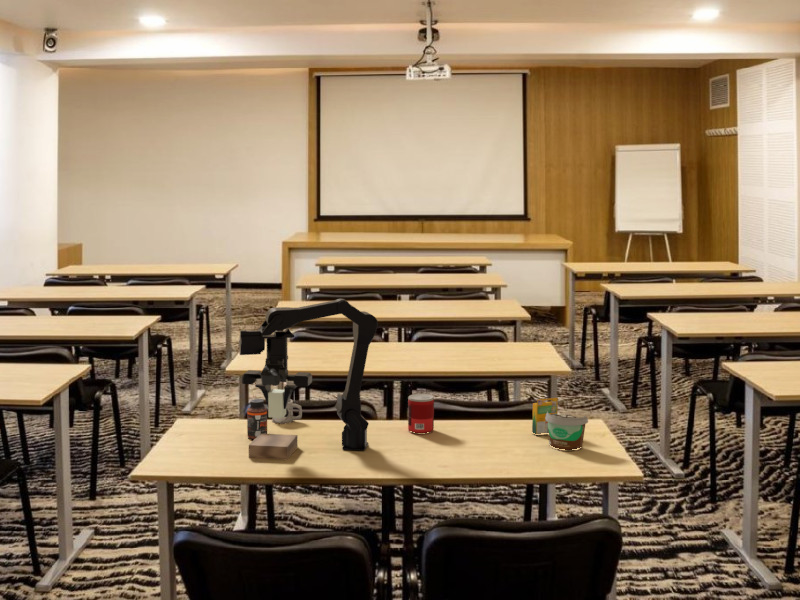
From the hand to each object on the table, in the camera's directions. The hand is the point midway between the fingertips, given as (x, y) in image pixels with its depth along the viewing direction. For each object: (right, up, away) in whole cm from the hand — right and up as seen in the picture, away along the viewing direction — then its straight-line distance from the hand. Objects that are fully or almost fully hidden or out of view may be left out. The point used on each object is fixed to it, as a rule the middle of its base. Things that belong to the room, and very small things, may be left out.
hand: (277, 408), depth 219 cm
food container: (+82, -13, +8) cm, 83 cm away
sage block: (0, -2, 0) cm, 2 cm away
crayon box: (+79, -11, +22) cm, 83 cm away
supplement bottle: (-9, -11, +17) cm, 22 cm away
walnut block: (-2, -13, +3) cm, 14 cm away
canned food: (+41, -11, +24) cm, 49 cm away
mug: (-2, -9, +34) cm, 36 cm away
